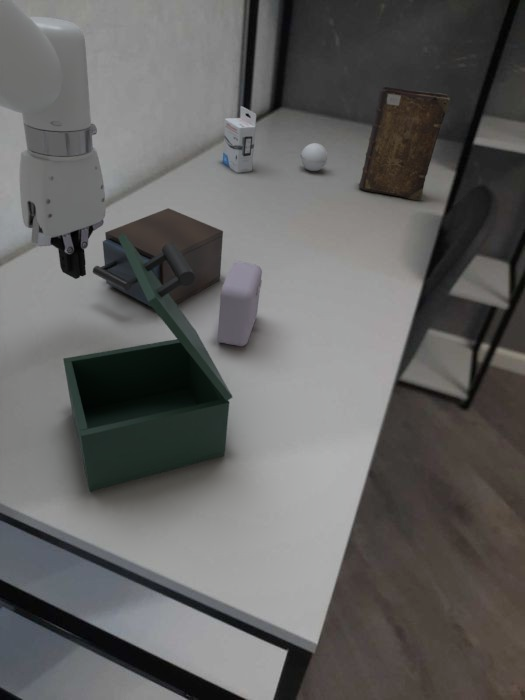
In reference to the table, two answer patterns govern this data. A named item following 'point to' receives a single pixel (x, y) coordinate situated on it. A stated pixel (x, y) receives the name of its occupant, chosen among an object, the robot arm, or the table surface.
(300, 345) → the table surface
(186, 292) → the cabinet
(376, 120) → the book
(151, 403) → the chest
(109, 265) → the drawer
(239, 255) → the table surface
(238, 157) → the ink box
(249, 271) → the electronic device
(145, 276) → the chest lid
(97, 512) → the table surface
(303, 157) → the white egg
